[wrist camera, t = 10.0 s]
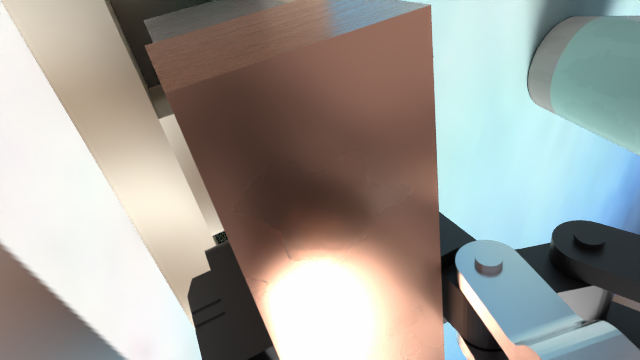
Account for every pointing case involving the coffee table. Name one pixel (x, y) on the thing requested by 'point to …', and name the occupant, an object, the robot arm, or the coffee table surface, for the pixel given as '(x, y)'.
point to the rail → (125, 130)
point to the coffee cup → (592, 76)
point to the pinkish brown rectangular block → (318, 164)
